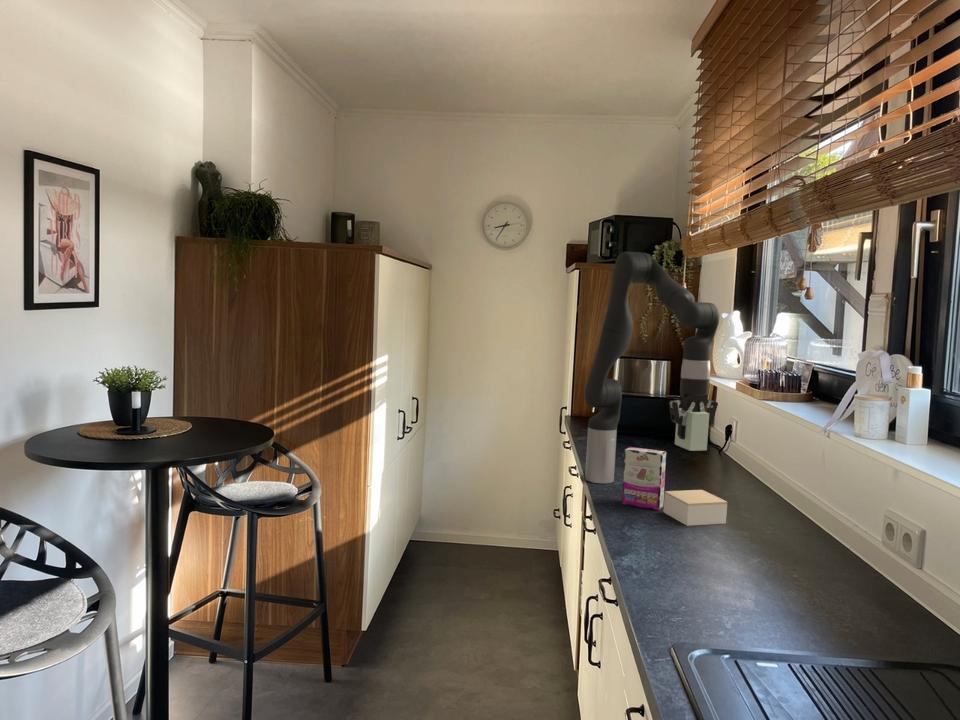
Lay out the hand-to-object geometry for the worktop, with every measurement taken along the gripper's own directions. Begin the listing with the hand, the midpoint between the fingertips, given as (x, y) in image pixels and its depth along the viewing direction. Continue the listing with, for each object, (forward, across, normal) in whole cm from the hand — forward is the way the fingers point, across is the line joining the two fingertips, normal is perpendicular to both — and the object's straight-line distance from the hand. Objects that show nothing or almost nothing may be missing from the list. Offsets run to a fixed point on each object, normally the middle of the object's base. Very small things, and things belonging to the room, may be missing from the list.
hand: (691, 438), depth 200 cm
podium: (+22, -3, 0) cm, 23 cm away
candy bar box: (+23, +6, -13) cm, 27 cm away
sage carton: (+2, 0, 0) cm, 2 cm away
